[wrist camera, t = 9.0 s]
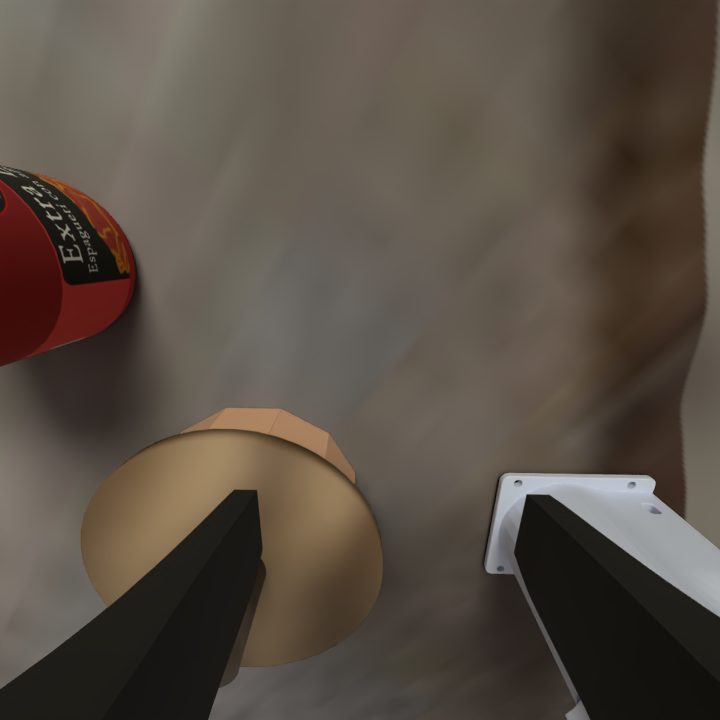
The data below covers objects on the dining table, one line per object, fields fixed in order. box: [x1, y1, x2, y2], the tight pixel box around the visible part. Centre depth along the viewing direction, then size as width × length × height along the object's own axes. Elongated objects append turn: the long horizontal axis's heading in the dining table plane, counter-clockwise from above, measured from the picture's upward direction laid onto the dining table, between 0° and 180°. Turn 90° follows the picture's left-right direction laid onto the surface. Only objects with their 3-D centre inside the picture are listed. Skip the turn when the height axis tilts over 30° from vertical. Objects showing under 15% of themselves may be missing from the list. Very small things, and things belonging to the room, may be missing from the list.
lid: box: [81, 429, 383, 688], centre depth 15 cm, size 15×15×5 cm
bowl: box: [180, 408, 355, 484], centre depth 19 cm, size 12×12×4 cm
